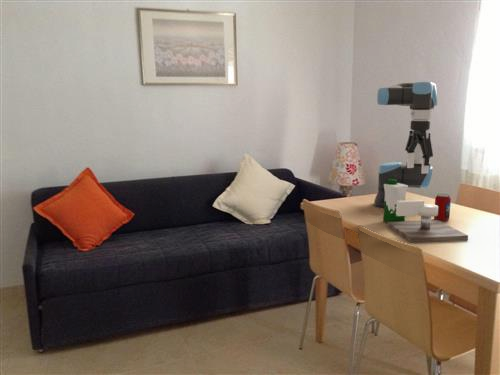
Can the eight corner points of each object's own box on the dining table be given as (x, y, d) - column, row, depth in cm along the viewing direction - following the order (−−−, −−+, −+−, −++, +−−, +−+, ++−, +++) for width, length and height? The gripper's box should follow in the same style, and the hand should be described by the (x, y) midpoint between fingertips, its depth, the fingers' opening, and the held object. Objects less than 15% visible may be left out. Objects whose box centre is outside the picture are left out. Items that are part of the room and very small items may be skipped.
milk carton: (393, 218, 212) (395, 177, 208) (408, 223, 204) (410, 180, 200) (379, 221, 208) (381, 179, 204) (394, 225, 200) (396, 182, 196)
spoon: (430, 210, 192) (431, 197, 191) (441, 216, 184) (443, 202, 182) (392, 212, 190) (393, 199, 189) (402, 218, 182) (402, 203, 180)
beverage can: (450, 221, 206) (452, 196, 203) (435, 221, 207) (437, 196, 205) (447, 218, 212) (449, 193, 210) (432, 217, 213) (434, 193, 211)
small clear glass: (418, 227, 191) (419, 213, 189) (427, 226, 191) (428, 213, 190) (423, 229, 187) (424, 216, 185) (432, 229, 187) (433, 215, 186)
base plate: (386, 226, 200) (387, 221, 199) (437, 224, 202) (437, 219, 202) (411, 242, 176) (411, 237, 176) (467, 240, 179) (468, 235, 178)
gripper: (399, 118, 194) (396, 165, 199) (425, 122, 170) (422, 176, 174) (415, 118, 195) (412, 165, 199) (444, 121, 170) (440, 175, 175)
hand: (417, 170), depth 187 cm, fingers open, 13 cm apart
